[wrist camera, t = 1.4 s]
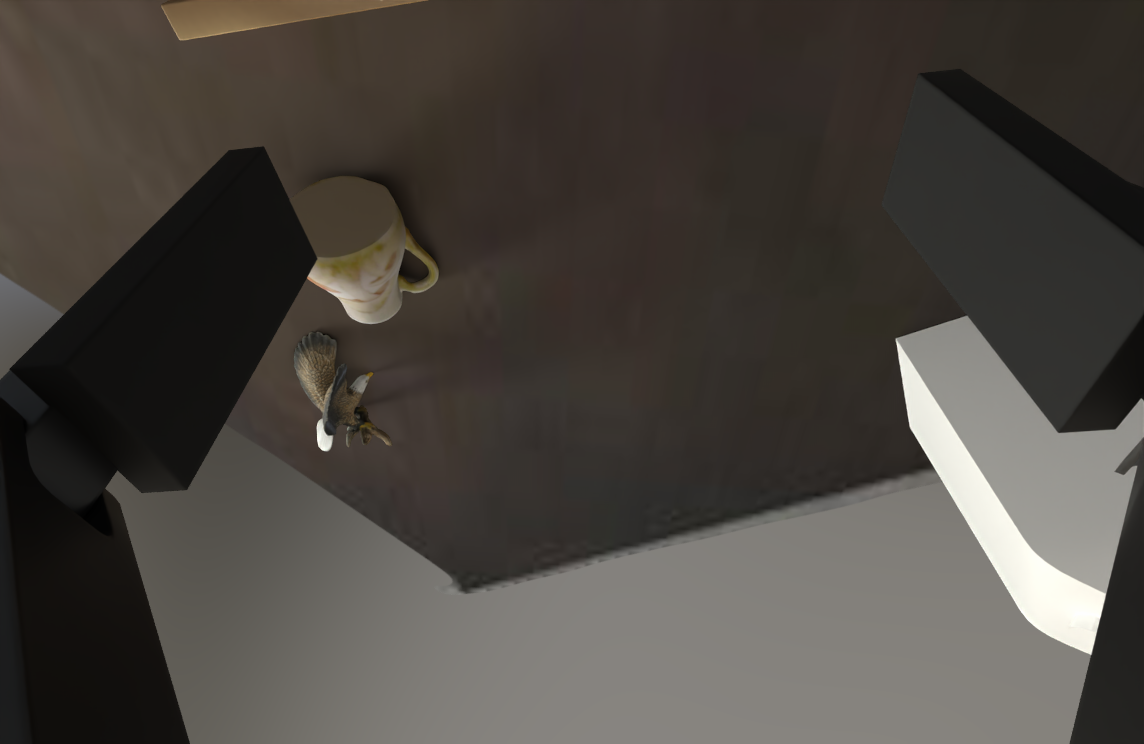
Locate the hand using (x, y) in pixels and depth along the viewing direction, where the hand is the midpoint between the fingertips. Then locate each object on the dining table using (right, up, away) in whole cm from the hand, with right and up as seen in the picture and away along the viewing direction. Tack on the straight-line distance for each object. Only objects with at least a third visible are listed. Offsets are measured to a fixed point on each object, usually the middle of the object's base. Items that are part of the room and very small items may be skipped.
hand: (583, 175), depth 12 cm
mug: (-14, +5, +28) cm, 32 cm away
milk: (+33, -3, +36) cm, 49 cm away
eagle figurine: (-19, -4, +37) cm, 42 cm away
